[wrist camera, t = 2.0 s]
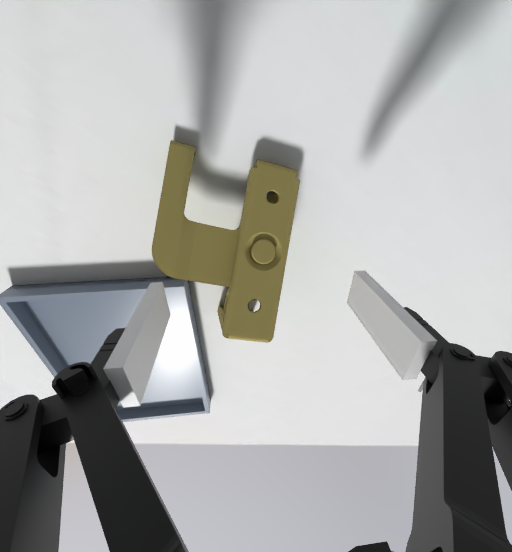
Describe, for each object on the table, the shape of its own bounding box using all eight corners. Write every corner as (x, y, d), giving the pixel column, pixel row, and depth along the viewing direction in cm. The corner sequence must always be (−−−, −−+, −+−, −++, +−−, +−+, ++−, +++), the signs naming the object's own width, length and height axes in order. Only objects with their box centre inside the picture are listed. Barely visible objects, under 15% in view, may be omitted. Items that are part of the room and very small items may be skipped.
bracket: (161, 306, 27) (135, 330, 17) (182, 181, 26) (168, 131, 17) (250, 317, 29) (273, 344, 19) (270, 202, 29) (303, 169, 19)
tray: (12, 285, 23) (-5, 297, 22) (187, 276, 25) (183, 286, 23) (96, 411, 35) (90, 425, 34) (210, 400, 37) (209, 412, 35)
